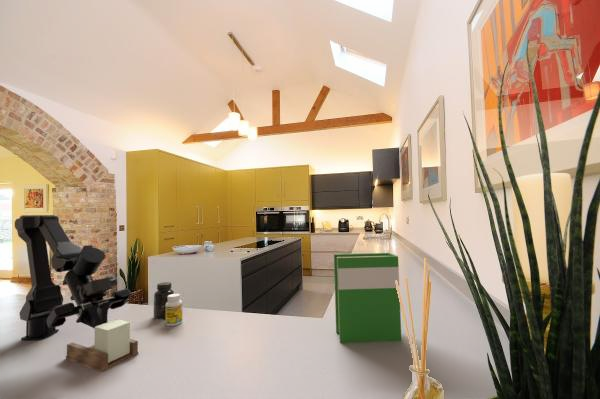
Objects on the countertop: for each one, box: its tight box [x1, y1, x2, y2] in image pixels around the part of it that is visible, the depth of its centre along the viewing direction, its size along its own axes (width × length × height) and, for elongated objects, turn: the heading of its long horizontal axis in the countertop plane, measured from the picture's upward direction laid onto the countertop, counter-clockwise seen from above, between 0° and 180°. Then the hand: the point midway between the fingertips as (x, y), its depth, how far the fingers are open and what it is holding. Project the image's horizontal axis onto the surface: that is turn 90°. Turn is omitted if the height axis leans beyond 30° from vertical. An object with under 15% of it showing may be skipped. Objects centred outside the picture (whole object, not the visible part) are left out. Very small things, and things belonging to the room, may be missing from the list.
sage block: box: [93, 318, 131, 363], centre depth 73 cm, size 6×6×8 cm
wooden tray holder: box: [65, 338, 139, 373], centre depth 74 cm, size 16×9×4 cm, turn 65°
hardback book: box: [333, 252, 402, 344], centre depth 83 cm, size 18×7×24 cm, turn 91°
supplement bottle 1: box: [153, 281, 175, 320], centre depth 103 cm, size 7×7×12 cm
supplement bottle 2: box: [165, 293, 183, 327], centre depth 96 cm, size 5×5×10 cm
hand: (105, 331), depth 74 cm, fingers closed
